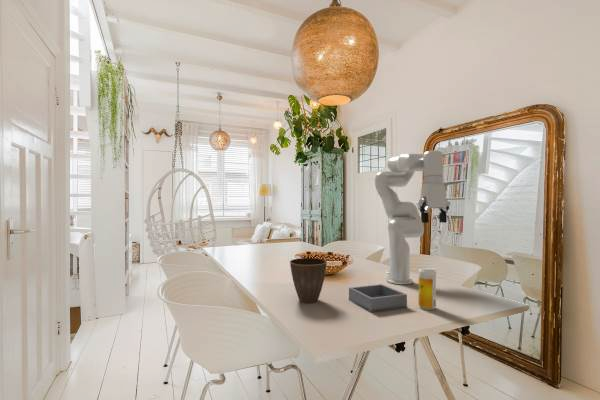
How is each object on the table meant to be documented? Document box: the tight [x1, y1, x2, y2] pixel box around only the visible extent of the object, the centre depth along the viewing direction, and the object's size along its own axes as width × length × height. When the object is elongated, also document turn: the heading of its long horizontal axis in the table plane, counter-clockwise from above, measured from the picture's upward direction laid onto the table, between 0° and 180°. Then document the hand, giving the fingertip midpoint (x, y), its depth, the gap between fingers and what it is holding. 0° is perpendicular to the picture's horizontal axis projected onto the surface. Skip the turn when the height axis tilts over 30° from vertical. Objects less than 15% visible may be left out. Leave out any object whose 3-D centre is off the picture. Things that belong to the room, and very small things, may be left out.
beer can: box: [418, 266, 437, 311], centre depth 121 cm, size 6×6×15 cm
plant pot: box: [289, 257, 328, 304], centre depth 129 cm, size 15×15×16 cm
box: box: [348, 283, 408, 314], centre depth 126 cm, size 16×16×5 cm
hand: (434, 222), depth 131 cm, fingers open, 9 cm apart
